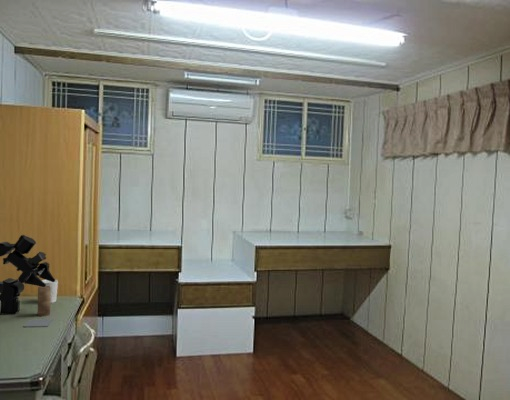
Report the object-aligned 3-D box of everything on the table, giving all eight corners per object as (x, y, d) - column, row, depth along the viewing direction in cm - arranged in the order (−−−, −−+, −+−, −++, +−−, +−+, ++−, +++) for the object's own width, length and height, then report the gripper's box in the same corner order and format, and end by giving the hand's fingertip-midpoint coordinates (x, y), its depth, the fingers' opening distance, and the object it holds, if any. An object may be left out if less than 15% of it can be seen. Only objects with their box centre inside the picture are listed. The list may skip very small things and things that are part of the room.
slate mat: (23, 327, 184) (23, 326, 184) (29, 320, 193) (29, 319, 193) (47, 326, 186) (47, 325, 185) (52, 320, 194) (52, 319, 194)
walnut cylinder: (36, 316, 199) (36, 288, 198) (39, 312, 204) (39, 285, 203) (48, 316, 200) (49, 288, 199) (51, 312, 205) (51, 285, 204)
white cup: (39, 300, 224) (40, 279, 224) (57, 299, 228) (57, 278, 227) (39, 304, 217) (40, 283, 217) (57, 303, 221) (58, 282, 220)
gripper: (21, 250, 192) (51, 273, 193) (41, 244, 211) (69, 265, 211) (5, 272, 193) (35, 294, 193) (27, 263, 211) (55, 284, 212)
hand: (50, 283), depth 202 cm, fingers open, 9 cm apart
